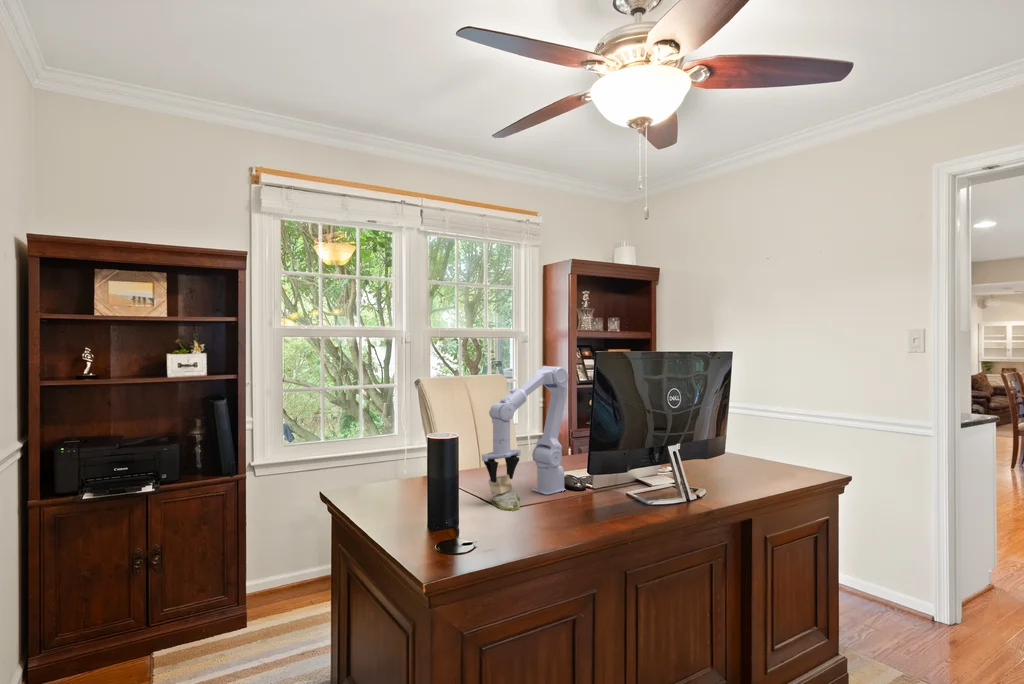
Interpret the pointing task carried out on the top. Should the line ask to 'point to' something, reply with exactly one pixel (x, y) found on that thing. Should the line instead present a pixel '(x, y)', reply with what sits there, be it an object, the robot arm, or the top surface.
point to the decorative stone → (506, 501)
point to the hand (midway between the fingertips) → (501, 480)
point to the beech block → (500, 485)
